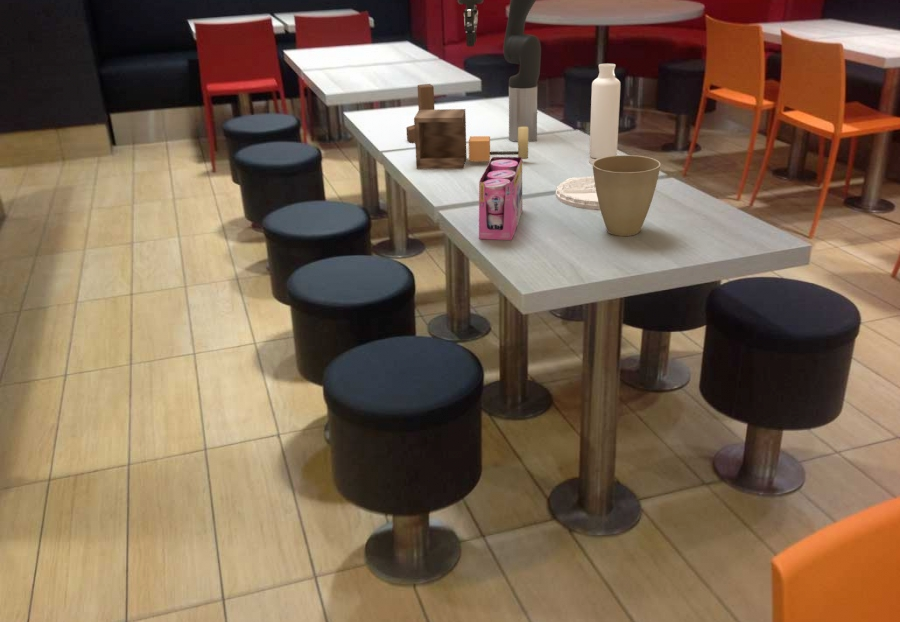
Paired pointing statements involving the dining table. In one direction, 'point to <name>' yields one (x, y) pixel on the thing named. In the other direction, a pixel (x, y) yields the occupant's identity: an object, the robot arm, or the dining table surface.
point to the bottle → (604, 114)
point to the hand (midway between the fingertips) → (471, 44)
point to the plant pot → (625, 191)
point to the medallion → (578, 193)
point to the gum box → (500, 198)
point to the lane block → (481, 151)
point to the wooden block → (422, 106)
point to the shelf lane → (440, 139)
